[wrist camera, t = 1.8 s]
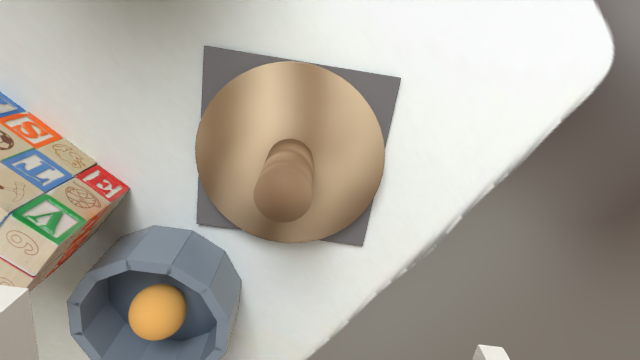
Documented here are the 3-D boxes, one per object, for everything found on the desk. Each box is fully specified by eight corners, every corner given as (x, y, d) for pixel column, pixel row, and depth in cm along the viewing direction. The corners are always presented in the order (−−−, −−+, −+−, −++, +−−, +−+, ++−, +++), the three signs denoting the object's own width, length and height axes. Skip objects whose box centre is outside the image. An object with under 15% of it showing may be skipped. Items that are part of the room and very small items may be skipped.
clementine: (143, 311, 33) (118, 349, 29) (142, 269, 32) (116, 304, 28) (192, 316, 34) (175, 356, 29) (194, 276, 32) (176, 312, 28)
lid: (196, 223, 31) (159, 280, 24) (204, 45, 26) (160, 50, 19) (362, 245, 32) (375, 307, 24) (401, 78, 27) (431, 94, 20)
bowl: (107, 331, 35) (75, 376, 31) (100, 218, 31) (61, 250, 26) (234, 345, 36) (222, 391, 31) (245, 237, 32) (233, 272, 27)
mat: (198, 221, 31) (196, 223, 31) (205, 45, 26) (204, 46, 26) (361, 243, 32) (362, 245, 32) (399, 77, 27) (401, 78, 27)
